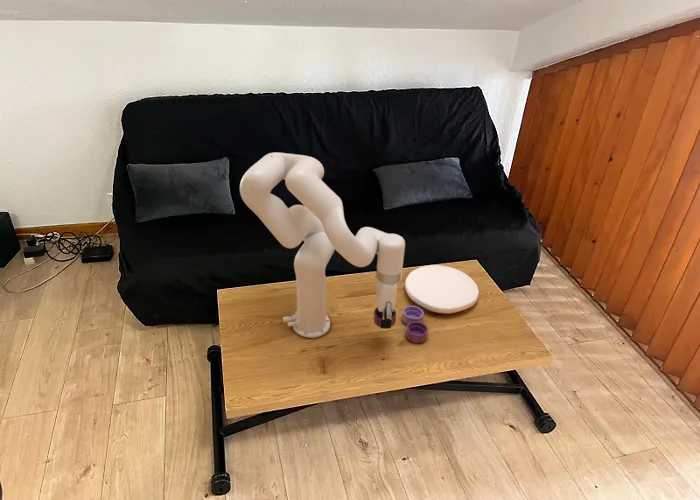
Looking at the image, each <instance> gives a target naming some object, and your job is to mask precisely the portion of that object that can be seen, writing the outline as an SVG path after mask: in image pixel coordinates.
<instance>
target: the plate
mask: <svg viewBox="0 0 700 500" xmlns="http://www.w3.org/2000/svg"><path fill="white" fill-rule="evenodd" d="M404 287H405V291H406V293H407V296H408V297H409V298H410V300H412V301H413V302H414V303H415V304H417V305H418V306H420V307H422V308H423V309H426V310H428V311H429V312H433V313H437V314H448V315H449V314H455V313H458V312H461V311H466V310H467V309H469V308H471V307H473V306H474V305H475V304H476V303H477V301H478V299H479V296H480V291H479V287H478V285H477V283H476V282H475V281H474V280H473V278H471V276H469V275H468V274H467V273H465V272H464V271H461V270H460V269H457V268H454V267H451V266H447V265H441V264H440V265H439V264H430V265H424V266H420V267H418V268H416V269H413V270H412V271H410V272H409V274H408V275H407V276H406V278H405V282H404Z"/></svg>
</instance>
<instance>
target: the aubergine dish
mask: <svg viewBox="0 0 700 500" xmlns="http://www.w3.org/2000/svg"><path fill="white" fill-rule="evenodd" d="M385 309H386V308H385ZM385 315H386V312H385ZM385 315H384V316H385ZM381 317H382V312H380V311H379V310H378V306H376V307H375V309H374V310H373V318H372V319H373V323H374V324H375V325H376V326H377V327H379V328H381V327H380V326H381ZM396 319H397V311H396V309H394V311H393V312H392V323H391V327H393V326H394V325H395V324H396Z"/></svg>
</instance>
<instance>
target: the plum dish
mask: <svg viewBox="0 0 700 500" xmlns="http://www.w3.org/2000/svg"><path fill="white" fill-rule="evenodd" d="M428 332H429V327H428V326H427V324H425V323H424V322H423V321H422V322H418V321H413V322H410V323H409V324H408V325H407V324H406V330H405V337H406V339H407V340H408V341H410V342H411V343H414V344H422V343H424V342H426V340H427V339H428Z"/></svg>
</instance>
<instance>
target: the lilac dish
mask: <svg viewBox="0 0 700 500" xmlns="http://www.w3.org/2000/svg"><path fill="white" fill-rule="evenodd" d="M424 314H425V313H424V310H423V309H422V308H421V307H419V306H417V305H407V306H405V307H404V308H403V310H402V317H401V318H402V319H401V320H402V322H403V323H404V324H405V325H406V326H407V325H408V324H409V323H410V322H413V321H418V322H422V323H423V320H424Z"/></svg>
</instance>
